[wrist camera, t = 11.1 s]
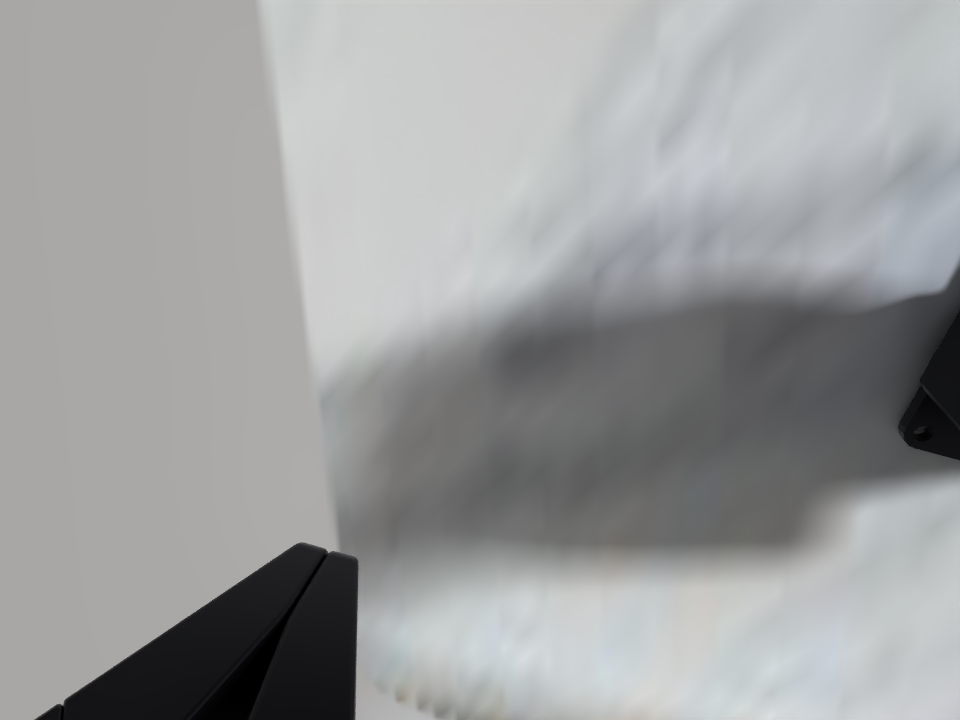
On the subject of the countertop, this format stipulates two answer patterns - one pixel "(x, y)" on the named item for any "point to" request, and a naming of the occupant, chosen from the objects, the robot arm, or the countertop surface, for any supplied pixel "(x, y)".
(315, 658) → the robot arm
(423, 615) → the countertop surface
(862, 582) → the countertop surface
